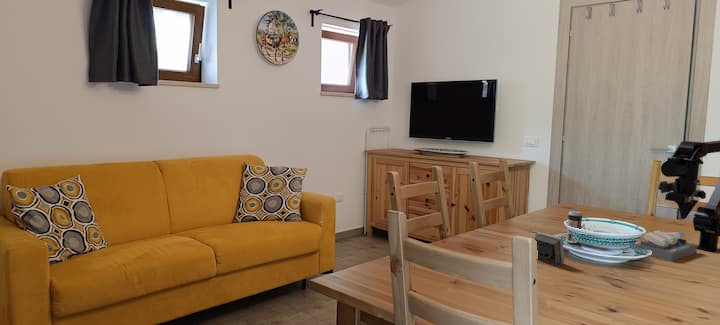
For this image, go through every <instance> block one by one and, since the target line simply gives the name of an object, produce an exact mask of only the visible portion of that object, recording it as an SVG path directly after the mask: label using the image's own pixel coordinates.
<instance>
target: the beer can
mask: <svg viewBox="0 0 720 325" xmlns="http://www.w3.org/2000/svg"><path fill="white" fill-rule="evenodd" d="M582 220H583V214H582V212H581V211H579V210H570V211H569V212H568V213H567V225H568V226H571V227H574V228H579V229H581V230H582V222H583V221H582ZM567 225H566V226H567ZM566 240H568V241H573V242H575V240H574V239H573V237H572V236H571V234H570V232H569V230H568V228H567V227H566V236H565V241H566Z"/></svg>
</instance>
